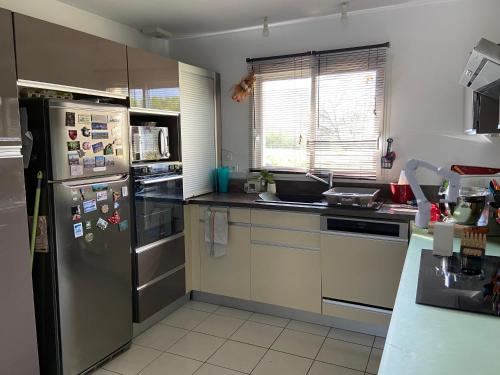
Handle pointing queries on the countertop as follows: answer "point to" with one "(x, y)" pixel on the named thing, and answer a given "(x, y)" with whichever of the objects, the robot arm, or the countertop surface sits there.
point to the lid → (456, 226)
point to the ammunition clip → (473, 245)
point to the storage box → (456, 231)
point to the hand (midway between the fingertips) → (452, 215)
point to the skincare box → (443, 238)
